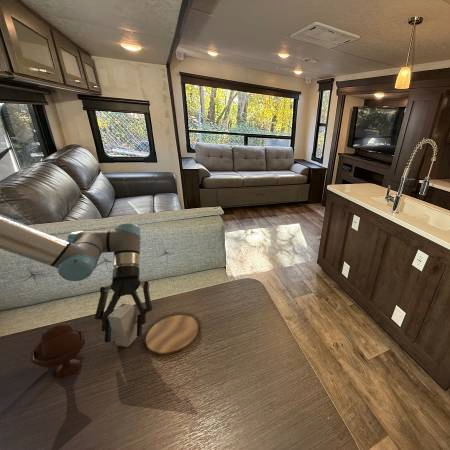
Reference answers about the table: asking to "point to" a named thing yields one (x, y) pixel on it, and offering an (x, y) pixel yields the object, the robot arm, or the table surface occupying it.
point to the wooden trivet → (172, 334)
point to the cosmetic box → (124, 324)
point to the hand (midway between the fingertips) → (123, 338)
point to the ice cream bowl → (59, 349)
